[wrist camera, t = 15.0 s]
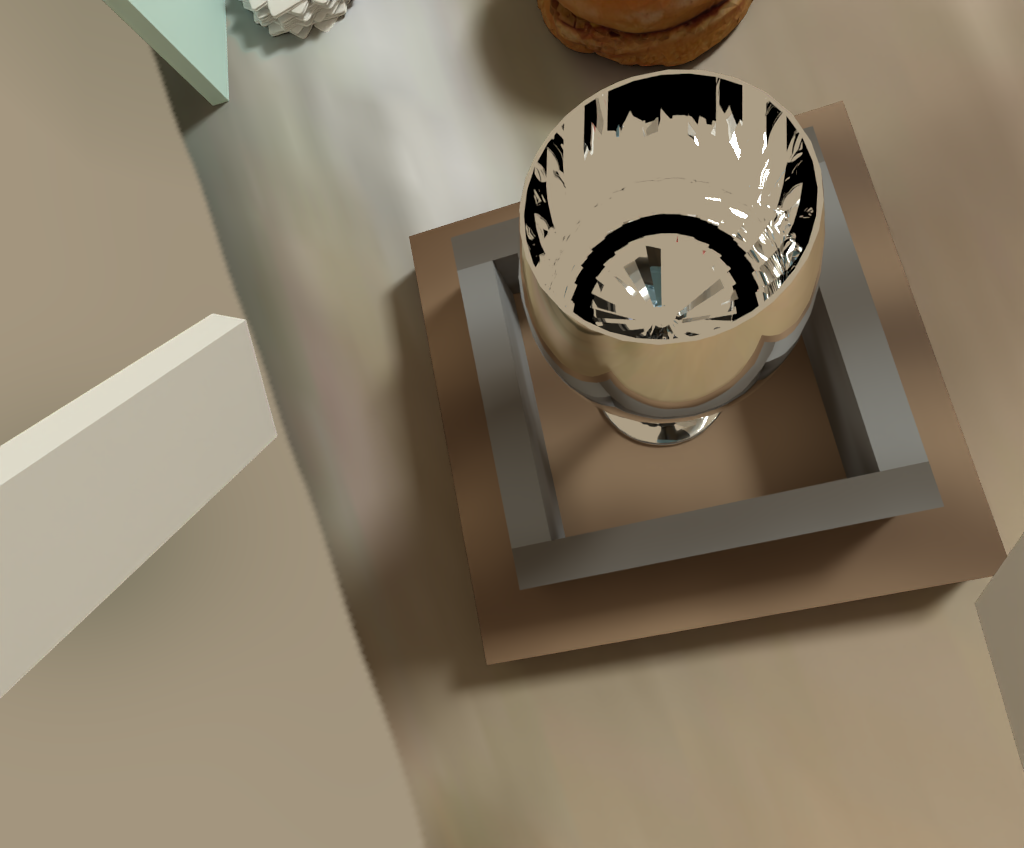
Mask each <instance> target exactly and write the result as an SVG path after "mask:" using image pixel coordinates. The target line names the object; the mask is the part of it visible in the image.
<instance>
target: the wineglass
mask: <svg viewBox="0 0 1024 848" xmlns="http://www.w3.org/2000/svg"><path fill="white" fill-rule="evenodd" d="M825 234H826V231H825V209H824V188H823V181H822V173H821V168H820V165H819V163H818V160H817V157H816V154H815V151H814V148H813V146H812V143H811V141H810V139H809V138H808V136H807V135H806V133H805V132H804V130H803V129H802V127H801V126H800V125H799V123H798V122H797V120H796V119H795V117H794V116H793V114H792V113H790V112H789V111H788V110H787V109H786V108H784V107H783V106H782V105H781V104H780V103H778V102H777V101H776V100H775V99H774V98H772V97H771V96H770V95H769V94H768V93H766V92H765V91H763V90H761V89H759V88H757V87H755V86H753V85H751V84H749V83H746V82H744V81H742V80H740V79H738V78H736V77H732V76H728V75H723V74H719V73H714V72H710V71H706V70H663V71H658V72H653V73H648V74H644V75H639V76H634V77H630V78H628V79H625V80H622V81H619V82H617V83H615V84H613V85H611V86H609V87H606V88H604V89H602V90H600V91H599V92H597V93H596V94H594V95H592V96H591V97H589V98H588V99H586V100H584V101H583V102H582V103H581V104H579V105H578V106H577V107H576V108H574V109H573V110H572V111H571V112H569V113H568V114H567V115H566V116H565V117H564V118H563V119H562V120H561V121H560V123H559V124H558V125H557V126H556V127H555V128H554V129H553V130H552V131H551V132H550V134H549V135H548V137H547V138H546V140H545V141H544V143H543V144H542V146H541V147H540V149H539V150H538V152H537V153H536V155H535V158H534V160H533V162H532V164H531V167H530V169H529V171H528V174H527V176H526V179H525V183H524V188H523V192H522V197H521V202H520V208H519V224H518V278H519V285H520V292H521V299H522V303H523V307H524V311H525V314H526V317H527V320H528V323H529V326H530V329H531V332H532V335H533V338H534V340H535V342H536V344H537V345H538V347H539V349H540V351H541V353H542V355H543V357H544V359H545V360H546V362H547V363H548V365H549V366H550V367H551V369H552V370H553V371H554V372H555V374H556V375H557V376H558V377H559V378H560V379H561V381H562V382H563V383H564V384H565V385H567V386H568V387H569V388H570V389H571V390H572V391H573V392H574V393H576V394H577V395H578V396H580V397H581V398H582V399H583V400H585V401H587V402H589V403H591V404H592V405H594V406H596V407H598V408H600V409H601V410H602V412H603V413H604V415H605V416H606V418H607V419H608V421H609V422H610V423H611V424H612V425H613V426H614V427H615V428H616V429H617V430H618V431H619V432H621V433H622V434H624V435H625V436H627V437H629V438H631V439H633V440H635V441H638V442H640V443H644V444H648V445H656V446H669V445H676V444H679V443H682V442H685V441H688V440H691V439H693V438H695V437H697V436H698V435H700V434H701V433H703V432H704V431H706V430H707V429H708V428H709V427H710V426H711V425H712V424H713V423H714V422H715V421H716V420H717V419H718V417H719V416H720V414H721V412H722V411H723V410H725V409H727V408H729V407H731V406H733V405H735V404H737V403H739V402H741V401H742V400H744V399H745V398H747V397H748V396H749V395H751V394H752V393H754V392H755V391H756V390H758V389H759V388H760V387H761V386H762V385H764V384H765V383H766V382H767V381H768V380H769V379H770V378H771V377H772V376H773V375H774V374H775V373H776V371H777V370H778V369H779V368H780V367H781V366H782V364H783V363H784V362H785V361H786V360H787V358H788V356H789V355H790V353H791V352H792V350H793V348H794V347H795V345H796V344H797V342H798V340H799V338H800V336H801V334H802V332H803V330H804V328H805V326H806V324H807V322H808V320H809V318H810V315H811V312H812V308H813V305H814V301H815V298H816V294H817V291H818V287H819V284H820V279H821V271H822V263H823V255H824V247H825Z"/></svg>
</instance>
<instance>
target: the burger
mask: <svg viewBox="0 0 1024 848" xmlns="http://www.w3.org/2000/svg"><path fill="white" fill-rule="evenodd" d="M752 1H753V0H537V3H538V8H539V9H540V10H541V13H542V16H543V19H544V22H545V24H546V26H547V27H548V29H549V30H550V31H551V33H552V34H553V35H554V36H555V37H556V38H558V39H559V40H560V41H561V43H563V44H564V45H565V46H566V47H568V48H570V49H573V50H575V51H577V52H582V53H593V52H596V53H597V54H598V55H600V56H602V57H605V58H608V59H611V60H613V61H616V62H619V63H620V64H623V65H631V66H632V65H635V64H638V65H640V66H653V65H662V64H663V65H664V66H666V67H667V66H676V65H680V64H684V63H686V62H689V61H692V60H694V59H695V58H696V57H698V56H699V55H701V54H703V53H704V52H706V51H707V50H709V49H710V48H711V47H713V46H714V45H716V44H717V43H719V42H720V41H721V40H722V39H723V38H725V37H726V36H727V35H728V34H729V33H730V32H731V31H732V30H733V29H734V28H735V27H736V26H737V25H738V24H739V22H740V21H741V20H742V19H743V17H744V16H745V15H746V13H747V11H748V8H749V6H750V5H751V3H752Z"/></svg>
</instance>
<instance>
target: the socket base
mask: <svg viewBox="0 0 1024 848" xmlns="http://www.w3.org/2000/svg"><path fill="white" fill-rule="evenodd" d="M794 117H795V119H796V120H797V122H798V123H799V125H800V126H801V127H802V129H803V130H804V132H805V133H806V135H807V136H808V138H809V139H810V141H811V143H812V146H813V148H814V151H815V154H816V157H817V160H818V163H819V165H820V168H821V173H822V181H823V188H824V209H825V231H826V234H825V247H824V255H823V263H822V271H821V279H820V284H819V287H818V291H817V294H816V298H815V301H814V305H813V308H812V312H811V315H810V318H809V320H808V322H807V324H806V326H805V328H804V330H803V332H802V334H801V336H800V338H799V340H798V342H797V344H796V345H795V347H794V348H793V350H792V352H791V353H790V355H789V356H788V358H787V360H786V361H785V362H784V363H783V364H782V366H781V367H780V368H779V369H778V370H777V371H776V373H775V374H774V375H773V376H772V377H771V378H770V379H769V380H768V381H767V382H766V383H765V384H764V385H762V386H761V387H760V388H759V389H758V390H756V391H755V392H754V393H752V394H751V395H749V396H748V397H747V398H745V399H744V400H742V401H741V402H739V403H737V404H735V405H733V406H731V407H729V408H727V409H725V410H723V411H722V412H721V414H720V416H719V417H718V419H717V420H716V421H715V422H714V423H713V424H712V425H711V426H710V427H709V428H708V429H707V430H706V431H704V432H703V433H701V434H700V435H698V436H697V437H695V438H693V439H691V440H688V441H685V442H682V443H679V444H676V445H669V446H656V445H648V444H644V443H640V442H638V441H635V440H633V439H631V438H629V437H627V436H625V435H624V434H622V433H621V432H619V431H618V430H617V429H616V428H615V427H614V426H613V425H612V424H611V423H610V422H609V421H608V419H607V418H606V416H605V415H604V413H603V412H602V410H601V409H600V408H598V407H596V406H594V405H592V404H591V403H589V402H587V401H585V400H583V399H582V398H581V397H580V396H578V395H577V394H576V393H574V392H573V391H572V390H571V389H570V388H569V387H568V386H567V385H565V384H564V383H563V382H562V381H561V379H560V378H559V377H558V376H557V375H556V374H555V372H554V371H553V370H552V369H551V367H550V366H549V365H548V363H547V362H546V360H545V359H544V357H543V355H542V353H541V351H540V349H539V347H538V345H537V344H536V342H535V340H534V338H533V335H532V332H531V329H530V326H529V323H528V320H527V317H526V314H525V311H524V307H523V303H522V299H521V292H520V285H519V278H518V224H519V208H520V202H518V203H514V204H511V205H508V206H505V207H502V208H499V209H495V210H492V211H489V212H486V213H483V214H479V215H476V216H473V217H470V218H467V219H463V220H460V221H457V222H454V223H451V224H448V225H444V226H441V227H438V228H435V229H432V230H428V231H425V232H422V233H419V234H416V235H412V236H409V238H410V244H411V249H412V255H413V260H414V266H415V271H416V277H417V283H418V288H419V294H420V299H421V305H422V310H423V316H424V321H425V327H426V332H427V338H428V343H429V349H430V354H431V360H432V365H433V371H434V376H435V382H436V388H437V393H438V399H439V404H440V410H441V415H442V421H443V426H444V432H445V437H446V443H447V448H448V454H449V459H450V465H451V470H452V476H453V481H454V487H455V492H456V498H457V504H458V509H459V515H460V520H461V526H462V531H463V537H464V542H465V548H466V553H467V559H468V564H469V570H470V575H471V581H472V586H473V592H474V597H475V603H476V609H477V614H478V620H479V625H480V631H481V636H482V642H483V647H484V653H485V658H486V664H487V665H491V664H496V663H502V662H508V661H513V660H519V659H525V658H530V657H536V656H542V655H547V654H553V653H559V652H564V651H570V650H576V649H581V648H587V647H593V646H599V645H604V644H610V643H616V642H621V641H627V640H633V639H638V638H644V637H650V636H655V635H661V634H667V633H672V632H678V631H684V630H689V629H695V628H701V627H706V626H712V625H718V624H724V623H729V622H735V621H741V620H746V619H752V618H758V617H763V616H769V615H775V614H780V613H786V612H792V611H797V610H803V609H809V608H814V607H820V606H826V605H832V604H837V603H843V602H849V601H854V600H860V599H866V598H871V597H877V596H883V595H888V594H894V593H900V592H905V591H911V590H917V589H922V588H928V587H934V586H939V585H945V584H951V583H957V582H962V581H968V580H974V579H979V578H985V577H991V576H994V575H995V573H996V572H997V571H998V569H999V568H1000V566H1001V565H1002V563H1003V562H1004V560H1005V559H1006V558H1007V555H1006V552H1005V549H1004V546H1003V544H1002V541H1001V538H1000V535H999V532H998V530H997V527H996V524H995V521H994V519H993V516H992V513H991V510H990V508H989V505H988V502H987V499H986V496H985V494H984V491H983V488H982V485H981V483H980V480H979V477H978V474H977V472H976V469H975V466H974V463H973V460H972V458H971V455H970V452H969V449H968V447H967V444H966V441H965V438H964V436H963V433H962V430H961V427H960V424H959V422H958V419H957V416H956V413H955V411H954V408H953V405H952V402H951V399H950V397H949V394H948V391H947V388H946V386H945V383H944V380H943V377H942V375H941V372H940V369H939V366H938V363H937V361H936V358H935V355H934V352H933V350H932V347H931V344H930V341H929V339H928V336H927V333H926V330H925V327H924V325H923V322H922V319H921V316H920V314H919V311H918V308H917V305H916V303H915V300H914V297H913V294H912V291H911V289H910V286H909V283H908V280H907V278H906V275H905V272H904V269H903V267H902V264H901V261H900V258H899V255H898V253H897V250H896V247H895V244H894V242H893V239H892V236H891V233H890V230H889V228H888V225H887V222H886V219H885V217H884V214H883V211H882V208H881V206H880V203H879V200H878V197H877V194H876V192H875V189H874V186H873V183H872V181H871V178H870V175H869V172H868V170H867V167H866V164H865V161H864V158H863V156H862V153H861V150H860V147H859V145H858V142H857V139H856V136H855V134H854V131H853V128H852V125H851V122H850V120H849V117H848V114H847V111H846V109H845V106H844V103H843V101H840V102H837V103H833V104H830V105H827V106H824V107H821V108H818V109H814V110H811V111H808V112H805V113H802V114H798V115H795V116H794Z"/></svg>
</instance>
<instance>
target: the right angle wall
mask: <svg viewBox="0 0 1024 848" xmlns="http://www.w3.org/2000/svg"><path fill="white" fill-rule="evenodd" d="M103 1H104V2H105V3H106V4H107V5H108V6H109V7H110V8H111V9H112V10H113V11H114V12H115V13H116V14H117V15H118V16H119V17H120V18H122V19H123V20H124V21H125V22H126V23H127V24H128V25H129V26H130V27H131V28H132V29H133V30H134V31H135V32H136V33H137V34H138V35H139V36H140V37H141V38H142V39H143V40H145V41H146V42H147V43H148V44H149V45H150V46H151V47H152V48H153V49H154V50H155V51H156V52H157V53H158V54H159V55H160V56H161V57H162V58H163V59H164V60H166V61H167V62H168V63H169V64H170V65H171V66H172V67H173V68H174V69H175V70H176V71H177V72H178V73H179V74H180V75H181V76H182V77H183V78H184V79H185V80H186V81H188V82H189V83H190V84H191V85H192V86H193V87H194V88H195V89H196V90H197V91H198V92H199V93H200V94H201V95H202V96H203V97H204V98H205V99H206V100H207V101H209V102H210V103H211V104H212V105H213V106H214V105H217V104H220V103H224V102H227V101H229V89H228V62H227V35H226V8H225V0H103ZM239 1H243V7H244V8H245V9H248V10H250V11H252V12H253V13H254V21H255V22H256V24H259V23H260V24H261V26H262V27H264V26H267V25H268V28H269V34H271V36H276V35H280V34H283V33H286V32H290V33H292V34H294V35H295V36H297V37H299V38H301V39H305V38H306V37H307V36H308V34H309V32H310V31H311V29H312V27H313V24H314V26H315V27H316V28H317V29H319V30H321V31H323V32H328V31H329V30H330V29H331V27H332V26H333V25H334V23H335V22H336V21H337V19H338V18H339V16H341V15H344V14H345V13H346V11H347V5H348V4H349V2H350V1H351V0H239Z"/></svg>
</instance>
